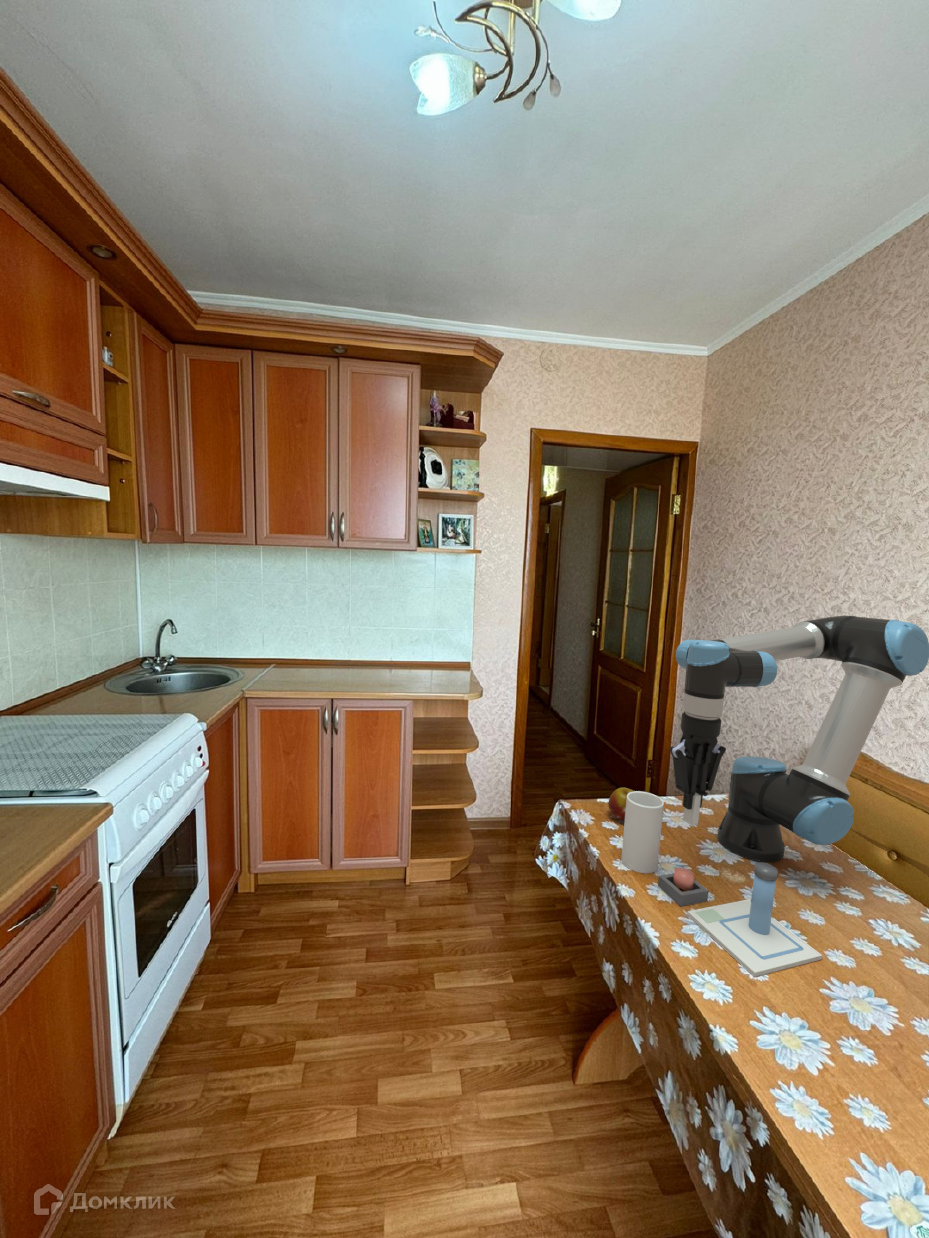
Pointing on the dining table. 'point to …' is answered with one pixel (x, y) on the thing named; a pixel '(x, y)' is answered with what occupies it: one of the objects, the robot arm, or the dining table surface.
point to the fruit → (619, 802)
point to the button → (683, 878)
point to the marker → (762, 898)
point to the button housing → (683, 898)
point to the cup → (642, 831)
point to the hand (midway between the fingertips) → (690, 822)
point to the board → (753, 939)
